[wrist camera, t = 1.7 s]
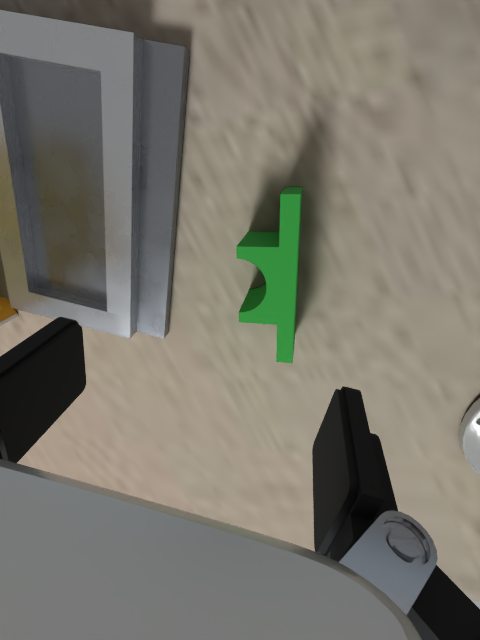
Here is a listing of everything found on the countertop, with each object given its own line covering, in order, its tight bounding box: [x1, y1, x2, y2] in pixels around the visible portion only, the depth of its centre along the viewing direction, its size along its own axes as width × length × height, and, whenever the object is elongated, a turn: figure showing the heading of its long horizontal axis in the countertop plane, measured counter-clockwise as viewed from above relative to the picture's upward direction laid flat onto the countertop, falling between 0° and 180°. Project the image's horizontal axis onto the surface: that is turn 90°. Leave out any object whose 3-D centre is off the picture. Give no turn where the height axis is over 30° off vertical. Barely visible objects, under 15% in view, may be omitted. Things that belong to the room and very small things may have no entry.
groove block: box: [0, 10, 190, 338], centre depth 24 cm, size 16×20×2 cm
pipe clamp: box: [237, 187, 303, 363], centre depth 23 cm, size 11×4×5 cm, turn 2°
